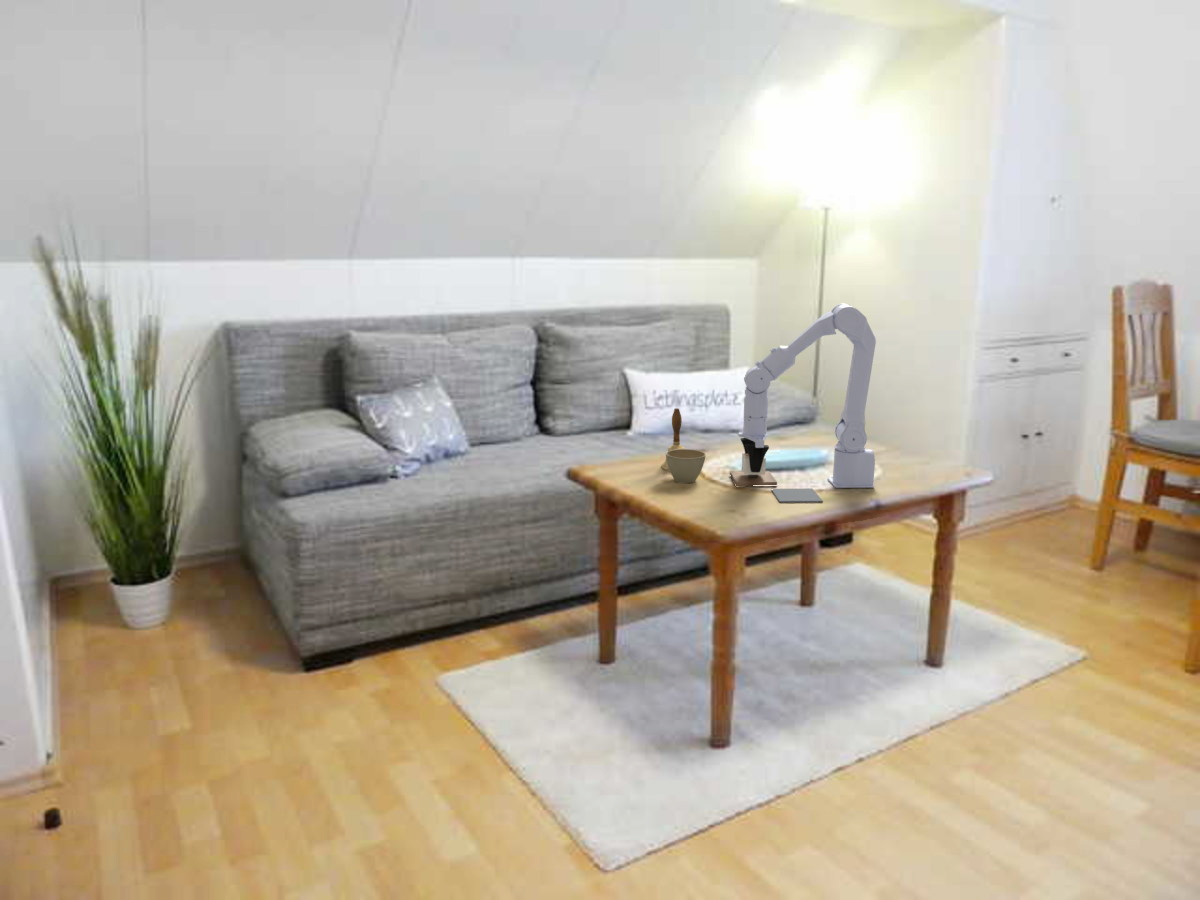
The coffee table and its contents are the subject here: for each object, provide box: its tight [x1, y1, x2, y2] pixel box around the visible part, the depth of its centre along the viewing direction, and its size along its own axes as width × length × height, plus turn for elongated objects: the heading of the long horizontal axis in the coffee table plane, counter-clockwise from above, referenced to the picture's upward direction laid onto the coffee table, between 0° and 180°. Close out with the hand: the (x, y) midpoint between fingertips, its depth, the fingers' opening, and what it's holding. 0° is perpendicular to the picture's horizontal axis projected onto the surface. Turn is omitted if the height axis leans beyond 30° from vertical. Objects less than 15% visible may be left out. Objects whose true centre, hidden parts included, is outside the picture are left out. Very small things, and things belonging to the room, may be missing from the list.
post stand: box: [729, 470, 778, 487], centre depth 215 cm, size 10×10×6 cm
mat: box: [771, 487, 824, 504], centre depth 203 cm, size 10×10×1 cm
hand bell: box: [660, 408, 686, 472], centre depth 227 cm, size 8×8×16 cm
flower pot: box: [665, 448, 707, 484], centre depth 216 cm, size 10×10×7 cm
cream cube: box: [741, 452, 767, 475], centre depth 215 cm, size 5×5×4 cm
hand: (753, 468), depth 215 cm, fingers closed on cream cube, 5 cm apart
